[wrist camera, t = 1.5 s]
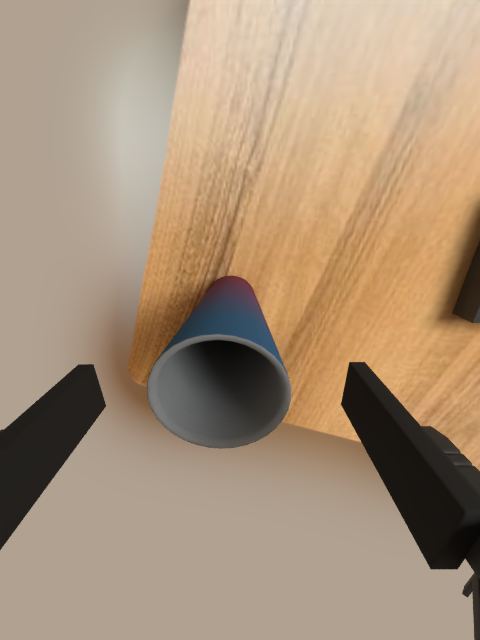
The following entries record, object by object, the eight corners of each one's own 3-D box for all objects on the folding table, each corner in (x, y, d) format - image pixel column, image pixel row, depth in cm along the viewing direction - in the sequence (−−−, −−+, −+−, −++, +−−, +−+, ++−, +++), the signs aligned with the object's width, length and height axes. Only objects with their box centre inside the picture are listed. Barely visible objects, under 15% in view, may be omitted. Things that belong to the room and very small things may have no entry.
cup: (239, 338, 27) (238, 465, 13) (187, 306, 25) (123, 412, 11) (276, 291, 24) (322, 383, 11) (221, 253, 23) (192, 303, 9)
